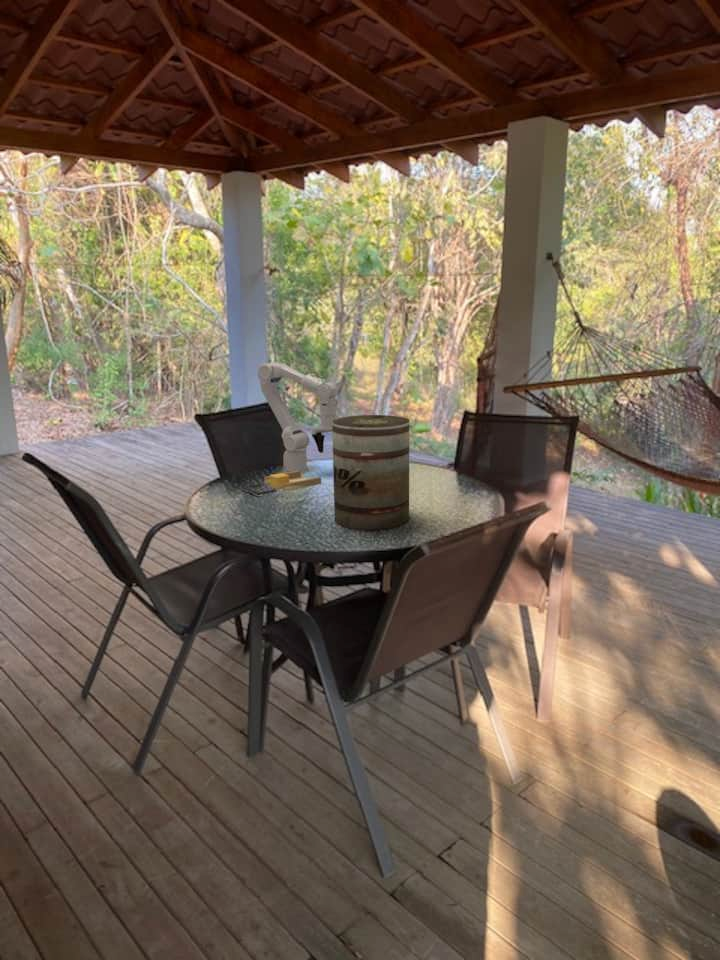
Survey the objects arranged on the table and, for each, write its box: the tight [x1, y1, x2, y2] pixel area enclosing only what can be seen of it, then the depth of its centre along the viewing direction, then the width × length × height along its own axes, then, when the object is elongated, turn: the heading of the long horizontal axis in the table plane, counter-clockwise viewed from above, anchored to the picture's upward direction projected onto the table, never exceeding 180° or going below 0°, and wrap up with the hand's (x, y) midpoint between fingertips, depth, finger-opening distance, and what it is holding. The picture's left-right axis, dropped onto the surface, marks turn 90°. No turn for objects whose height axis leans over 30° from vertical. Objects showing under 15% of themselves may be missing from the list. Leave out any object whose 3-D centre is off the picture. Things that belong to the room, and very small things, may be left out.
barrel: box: [331, 414, 410, 532], centre depth 197 cm, size 22×22×30 cm
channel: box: [263, 471, 322, 492], centre depth 241 cm, size 14×15×3 cm
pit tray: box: [241, 483, 276, 495], centre depth 233 cm, size 11×7×1 cm, turn 38°
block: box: [269, 472, 290, 489], centre depth 237 cm, size 5×5×4 cm
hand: (329, 450), depth 251 cm, fingers open, 7 cm apart
